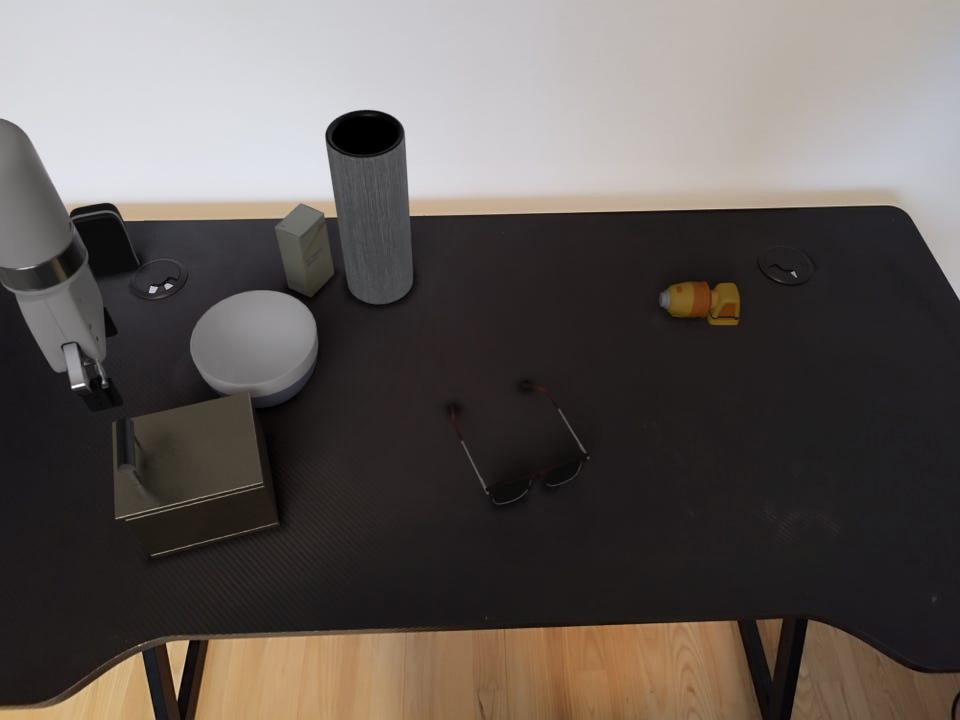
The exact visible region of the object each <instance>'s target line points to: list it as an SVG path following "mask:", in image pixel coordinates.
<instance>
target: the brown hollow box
mask: <svg viewBox="0 0 960 720" xmlns="http://www.w3.org/2000/svg"><path fill="white" fill-rule="evenodd" d="M250 399H251V397H250ZM251 405H252V411H253V418H254V424H255V430H256V436H257V443H258V449H259V455H260V461H261V467H262V474H263V480H264V486H262V487H258V488H253V489H249V490H245V491H241V492H237V493H233V494H229V495H225V496H221V497H217V498H213V499H209V500H205V501H201V502H197V503H193V504H189V505H185V506H181V507H176V508H172V509H168V510H164V511H160V512H156V513H152V514H148V515H144V516H140V517H136V518H132V519H128V520H124V521H125V522H126V523H127V525H128V526H129V528H130V529H131V531H132V532H133V533H134V535H135V536H136V537H137V539H138V540H139V542H140V543H141V544H142V546H143V547H144V548H145V550H146V551H147V552H148V554H149V555H150V557H151V558H152V559H157V558H162V557H166V556H169V555H173V554H177V553H181V552H184V551H189V550H192V549H197V548H201V547H204V546H209V545H212V544H216V543H219V542H224V541H228V540H231V539H236V538H239V537H243V536H246V535H247V536H248V535H251V534H255V533H258V532H262V531H267V530H271V529H274V528H278V527H280V526H281V523H280V517H279V512H278V508H277V506H278V505H277V499H276V494H275V488H274V482H273V475H272V470H271V464H270V459H269V453H268V452H269V451H268V446H267V440H266V438H265V434H264V431H263V429H262V426H261V423H260V420H259V417H258V415H257V412H256V408H254V406H253V403H252V400H251Z"/></svg>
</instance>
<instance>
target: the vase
mask: <svg viewBox="0 0 960 720" xmlns="http://www.w3.org/2000/svg"><path fill="white" fill-rule="evenodd" d="M324 139H325V147H326V152H327V158H328V159H327V160H328V167H329V173H330V179H331V185H332V193H333V199H334V205H335V212H336V218H337V226H338V232H339V238H340V245H341V252H342V257H343V263H344V270H345V271H344V272H345V277H346V282H347V287H348V289H349V291H350V293H351V295H353V296H354V297H355V298H356V299H358V300H359V301H362V302H364V303H367V304H373V305H387V304H390V303H393V302H396V301H398V300H400V299H402V298H404V296H406V295H407V294H408V293H409V291H410V290H411V288H412V286H413V282H414V267H413V265H414V263H413V250H412V231H411V216H410V215H411V214H410V198H409V197H410V196H409V195H410V194H409V180H408V179H409V178H408V163H407V162H408V161H407V145H406V144H407V143H406V132H405V128H404V126H403V124H402V122H401V121H399V119H397V118H396V117H395V116H394V115H392V114H390V113H387V112H386V111H385V112H384V111H381V110H376V109H358V110H352V111H348V112H346V113H343V114H340V115H339V116H338V117H336V118H334V119H333V120H332V121H331V122H330V123H329V124H328V125H327V127H326V129H325V133H324Z"/></svg>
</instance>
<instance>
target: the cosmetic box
mask: <svg viewBox="0 0 960 720" xmlns="http://www.w3.org/2000/svg"><path fill="white" fill-rule="evenodd" d="M274 230H275V235H276V239H277V243H278V244H277V245H278V248H279V252H280V256H281V261H282V265H283V269H284V272H285V277H286V283H287V286H288V288H289V289H291V290H293V291H295V292H297V293H299V294H302V295H304V296H306V297H309V298H312V297H313V296H314V295H315V294H316V293H317V292H318V291H320V289H321V288H322V287H323V286H324V285H325V284H326V283H327V282H328V281H329V280H330V279H331V278H332V277H333V276H334V275H335V270H334V264H333V258H332V251H331V246H330V241H329V240H330V239H329V233H328V228H327V222H326V217H325V212H323V211H321V210H318V209H316V208H313V207H311V206H309V205H306V204H304V203H301V202H300V203H299V204H298V205H297V206H296V207H295V208H293V210H291V211H290V212H289V213H288V214H286V215H285V217H284V218H283V219H282V220H281V221H279V223H277V224H276V225H275V226H274Z"/></svg>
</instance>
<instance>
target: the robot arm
mask: <svg viewBox="0 0 960 720" xmlns="http://www.w3.org/2000/svg"><path fill="white" fill-rule="evenodd" d="M0 283H1V285H2V286H3V287H4V289H6V290H8V291H9V292H11V293H14V296H15V298H16V301H17V303H18V306H19V309H20V311H21V314H22V316H23V319H24V320H25V323H26V325H27V327H28V328H29V331H30V333H31V334H32V336H33V338H34V340H35V341H36V343H37V345H38V347H39V348H40V350H41V352H42V354H43V356H44V357H45V359H46V360H47V362H48V364H49V365H50V367H51V369H52V370H53V371H54V372H56V373H58V374H61V373H65V372H67V373H68V374H67V375H68V378H69V383H70V388H71V390H72V392H73V393H74V394H76V395H77V396H78V397H81V398H82V400H83V402H84V403H85V405H86V406H87V408H88V409H89V411H90V412H92V413H97V412H100V411H105V410H110V409H113V408H116V407H121V406H123V405H124V398H123V396H122V395H121V393H120V391H119V389H118V387H117V385H116V384H115V382H114V381H113V379H112V377H108V376H107V374H106V371H105V368H104V364H103V361H105V359H106V356H107V341H106V340H107V338H112V337H116V336H117V335H118V333H119V332H118V327H117V326H116V324H115V322H114V320H113V318H112V316H111V314H110V313H109V311H108V309H107V306H104V302H103V298H102V293H101V291H100V288H99V285H98V284H97V281H96V279H95V276H94V274H93V272H92V270H91V269H90V267H89V265H88V252H87V249H86V247H85V245H84V243H83V241H82V239H81V237H80V235H79V233H78V232H77V230H76V228H75V226H74V224H73V222H72V220H71V218H70V213H69V212H68V210H67V208H66V206H65V205H64V202H63V201H62V198H61V196H60V194H59V192H58V190H57V188H56V186H55V184H54V183H53V181H52V179H51V177H50V174H49V173H48V171H47V169H46V166H45V165H44V163H43V161H42V159H41V157H40V155H39V153H38V151H37V149H36V147H35V145H34V143H33V142H32V140H31V138H30V136H29V135H28V133H26V132H25V131H24V130H23V129H22V127H20V126H19V125H17V124H16V123H14V122H12V121H10V120H8V119H4V118H0ZM83 354H84V355H86V356H87V357H86V358H84V355H83ZM88 366H93V367H94V370H95V373H96V376H95V377H92V378H89V377H88V374H87V370H86V367H88Z"/></svg>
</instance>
